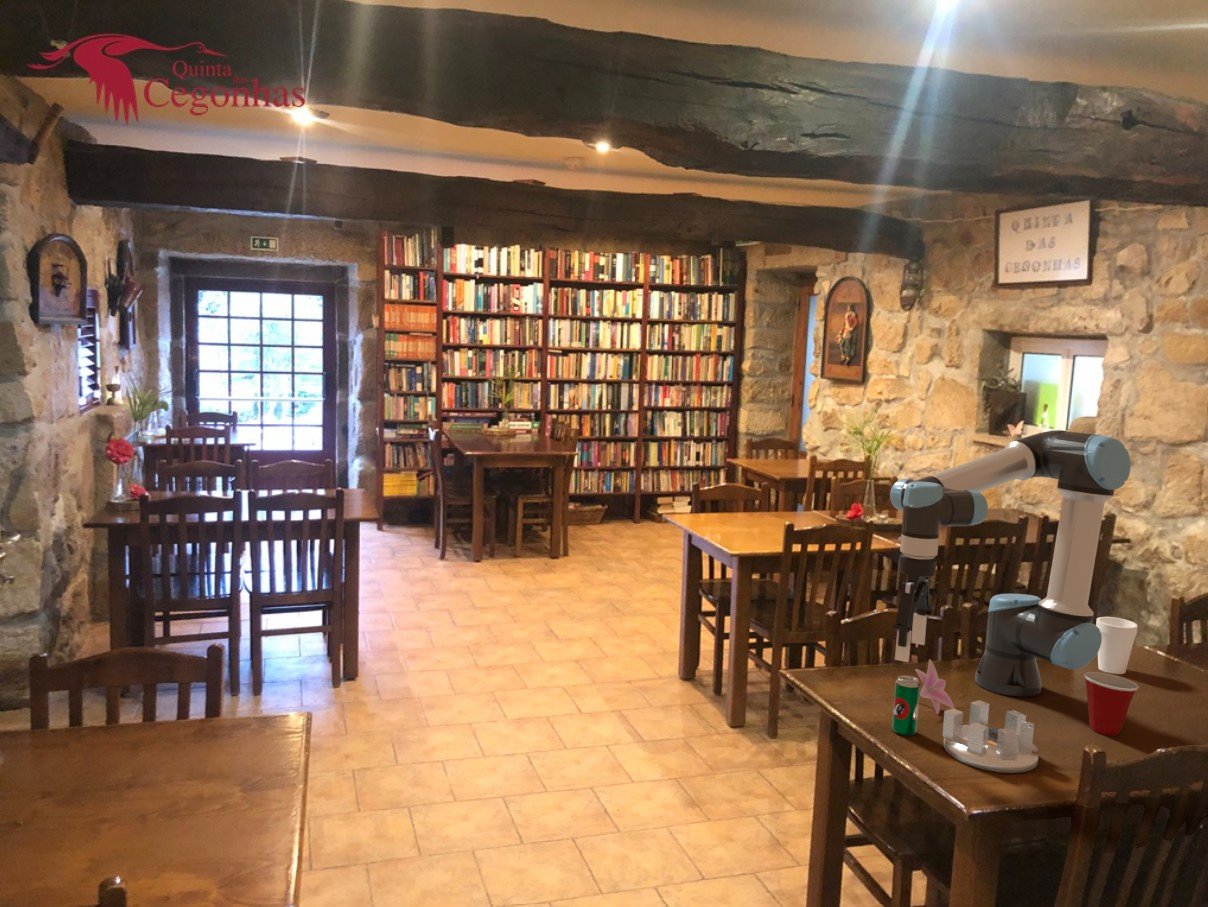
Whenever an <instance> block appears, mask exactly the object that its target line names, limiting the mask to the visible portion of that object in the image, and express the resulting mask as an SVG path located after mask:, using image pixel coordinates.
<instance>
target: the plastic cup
mask: <svg viewBox="0 0 1208 907" xmlns="http://www.w3.org/2000/svg"><path fill="white" fill-rule="evenodd" d="M1083 677H1084V681H1085V684H1086V685H1085V686H1086V687H1085V688H1086V695H1087V696H1086V697H1087V710H1088V711H1087V712H1088V717H1089V718H1088V721H1089V727H1090V729H1091V731H1094V733H1097V734H1100V733H1101V734H1100V735H1104V736H1111V737H1112V736H1114V737H1115V736H1119V735H1120V732H1121V731H1122V728H1123V724H1124V721H1125V720H1126V717H1127V714H1128V710H1129V707H1130V705H1131V701H1132V699H1133V698H1134V695H1135V693H1136V691H1138V690H1139V689H1140V686H1139V684H1138V683H1136V682H1135V681H1133V680H1131V679H1127V678H1125V677H1123V676H1118V675H1117V674H1112V673H1108V672H1103V671H1102V672H1101V671H1085V672H1084V673H1083Z"/></svg>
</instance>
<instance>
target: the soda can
mask: <svg viewBox="0 0 1208 907" xmlns="http://www.w3.org/2000/svg"><path fill="white" fill-rule="evenodd" d="M919 682H920V681H919V678H917V677H915V676H911V675H906V674H905V675H904V674H903V675H899V676H897V679H896V681H895V685H894V697H893V698H894V699H893V708H892V709H893V710H892V723H891V729H892V730H893V731H894V733H895V734H898V735H899V736H905V737H910V736H914V735H915V734H916V733H917V728H918V716H919V706H920V705H919V703H920V696H919V694H920V692H921V684H920V683H919Z"/></svg>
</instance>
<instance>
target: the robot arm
mask: <svg viewBox="0 0 1208 907" xmlns="http://www.w3.org/2000/svg"><path fill="white" fill-rule="evenodd" d="M1131 469H1132V468H1131V457H1130V453H1129V451H1128V449H1127V448H1126V446H1125V444H1123V442H1122V441H1120V440H1119V439H1117V438H1115V437H1112V436H1107V435H1102V434H1098V433H1097V434H1094V433H1092V434H1091V433H1086V432H1076V431H1069V430H1060V429H1058V430H1056V429H1054V430H1050V431H1049V430H1048V431H1043V432H1039V433H1035V434H1032V435H1029V436H1025V437H1022V438H1019V439H1017V440H1013V441H1011V442H1009V443H1007V444H1006V445H1005V446H1004V448H1002V449H1001V450H997V451H994V452H993V453H989V454H987V455H983V456H982V457H978V458H975V459H973V460H970V461H968V462H966V463H962V464H959V465H957V466H954V467H951V468H949V469H948V468H947V469H945V470H943V471H940V472H937V473H934V474H932V475H929V476H926V477H925V476H924V477H923V478H920V479H917V480H916V479H915V480H914V479H912V478H902V479H899V480H897V481H896V482H894V484H893V485H892V486H891V489H890V493H889V497H890V498H889V499H890V502H891V504H892V507H894V508H895V509H896V510H898V511H901V512H902V516H901V517H902V518H901V536H899V537H898V539H897V540H898V541H899V542H900V548H899V552H901V553H900V555H898V556H899V558H898V568H897V569H898V571H899V572H900V573H901V574H905V575H906V576H907V578H906V581H903V582H902V583H901V591H900V592H901V593H900V598H899V604H898V609H897V614H896V619H895V624H893V626H892V629H893V630H895V631H896V641H895V642H896V643H895V651H894V652H895V653H894V654H895V655H894V660H895V661H900V662H904V663H909V662H910V656H911V655H910V651H911V644H916V645H922V646H925V643H926V630H927V619H928V616H931V615H932V610H930V609H931V600H930V577H933V576H935V575H936V573H937V560H938V559H937V558H936V556H938V552H939V539H940V537H939V536H940V529H941V528H942V527H943V528H944V527H962V526H963V527H964V526H965V527H969V526H975V525H979V524H981V523H982V522H983V521H984V520H985V519H986V518H987V516H988V508H989V506H988V501H987V499H986V497H985V495H983V493H981V492H985V491H987V490H990V489H992V488H995V487H997V486H1000V485H1003V484H1006V483H1008V482H1011V481H1014V480H1018V481H1027V480H1029V479H1032V478H1049V479H1055V480H1057V487H1056V490H1057V491H1058V492H1059V493H1060V494H1061V496H1062V502H1061V506H1060V513H1059V518H1058V526H1057V532H1056V538H1055V544H1054V548H1053V549H1054V550H1053V556H1052V564H1051V568H1050V575H1049V582H1048V585H1047V586H1048V587H1047V593H1046V594H1047V595H1046V597H1044V598H1043V599H1041V597H1039V596H1036V595H1032V594H1026V593H1025V594H1024V593H1023V594H1022V593H1000V594H996V595H993V596H992V597H991V598H990V601H989V606H988V609H987V622H986V623H987V624H986V636H985V637H986V638H985V639H986V640H985V647H984V648H985V649H984V653H983V655H982V658H981V659H980V661H979V663H978V665H977V667H976V669H975V670H976V671H975V676H974V682H975V683H976V684H977V685H978V686H980V687H982V688H983V689H985V690H987V691H990V692H992V693H996V694H1000V695H1005V696H1010V697H1022V698H1023V697H1035V696H1037V695H1039V694H1041V692H1042V685H1043V684H1042V683H1043V682H1042V679H1041V674H1040V670H1039V667H1038V662H1037V658H1039V659H1042V660H1045V661H1047V662H1049V663H1052V664H1053V665H1054V666H1056V667H1062V668H1065V669H1068V670H1080V669H1082V668H1084V667H1086V666H1088V665H1089V664H1090V663H1091V662H1092V661H1093V660H1094V659H1095V658H1096V657H1097V656H1098V651H1099V649H1100V646H1101V642H1102V635H1101V633H1100V630H1099V628H1098V627H1097V626H1096V624H1095V623H1093V621H1094V620H1093V619H1094V615H1095V614H1094V611H1093V610H1092V609H1091V607H1090V606H1089V600H1090V593H1091V586H1092V580H1093V575H1094V568H1095V561H1096V556H1097V550H1098V545H1099V544H1098V543H1099V540H1100V539H1099V538H1100V532H1101V526H1102V520H1103V515H1104V514H1103V513H1104V507H1105V503H1106V502H1107V501H1109V500H1110V499H1112V498H1113V497H1114V495H1115V490H1118V489H1120V488H1122V487H1123V486H1125V484H1126V481H1128V479H1129V476H1130V475H1131ZM911 626H912V627H911ZM911 628H912V630H911Z"/></svg>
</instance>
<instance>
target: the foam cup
mask: <svg viewBox="0 0 1208 907" xmlns="http://www.w3.org/2000/svg"><path fill="white" fill-rule="evenodd" d="M1095 625H1096V626H1097V627H1098V628H1099V630H1100V633H1101V635H1102V642H1101V646H1100V649H1099V651H1098V653H1097V663H1098V670H1100V671H1102V672H1104V673H1107V674H1112V675H1123V674H1126V672H1127V668H1128V664H1129V660H1130V656H1131V653H1132V649H1133V645H1134V642H1135V638H1136V636H1137V632H1138V624H1137V623H1136V622H1133V621H1131V620H1129V619H1124V618H1120V617H1114V616H1113V617H1112V616H1100V617H1097V618H1096V624H1095Z"/></svg>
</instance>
